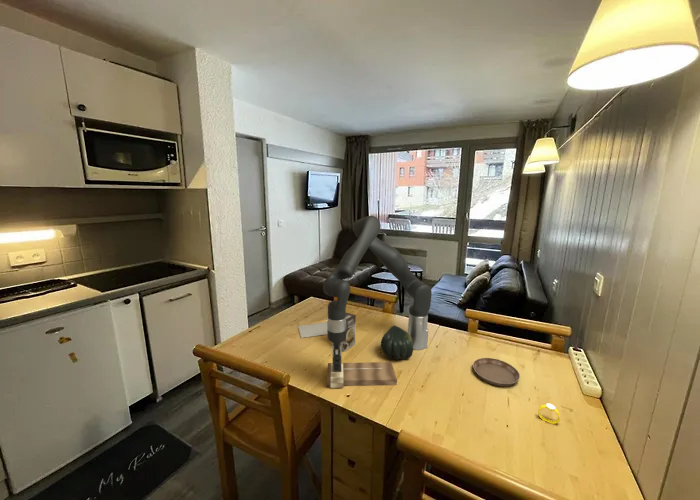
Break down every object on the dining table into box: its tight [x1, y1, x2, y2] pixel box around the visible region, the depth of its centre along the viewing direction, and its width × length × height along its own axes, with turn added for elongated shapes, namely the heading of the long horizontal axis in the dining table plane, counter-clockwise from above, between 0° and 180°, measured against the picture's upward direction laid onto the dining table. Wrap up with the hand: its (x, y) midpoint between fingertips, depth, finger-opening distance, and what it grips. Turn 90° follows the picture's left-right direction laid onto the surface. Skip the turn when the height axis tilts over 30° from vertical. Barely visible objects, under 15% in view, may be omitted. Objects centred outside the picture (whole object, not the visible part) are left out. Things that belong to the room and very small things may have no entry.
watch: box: [537, 403, 561, 425], centre depth 98 cm, size 6×3×6 cm, turn 56°
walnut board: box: [326, 361, 398, 387], centre depth 121 cm, size 28×12×3 cm, turn 92°
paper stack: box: [297, 321, 327, 339], centre depth 167 cm, size 23×25×1 cm
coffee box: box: [341, 311, 357, 353], centre depth 143 cm, size 9×6×16 cm
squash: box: [380, 325, 414, 361], centre depth 136 cm, size 14×15×15 cm
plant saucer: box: [472, 357, 521, 387], centre depth 122 cm, size 18×18×3 cm
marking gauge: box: [330, 353, 344, 389], centre depth 117 cm, size 5×10×11 cm, turn 2°
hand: (336, 364), depth 118 cm, fingers open, 8 cm apart
